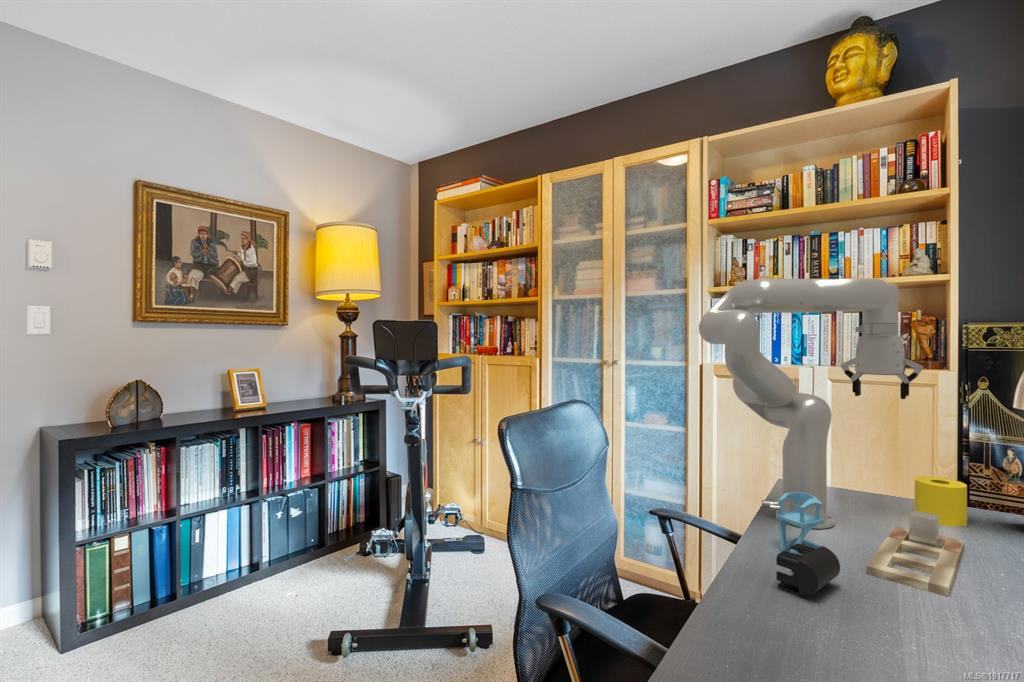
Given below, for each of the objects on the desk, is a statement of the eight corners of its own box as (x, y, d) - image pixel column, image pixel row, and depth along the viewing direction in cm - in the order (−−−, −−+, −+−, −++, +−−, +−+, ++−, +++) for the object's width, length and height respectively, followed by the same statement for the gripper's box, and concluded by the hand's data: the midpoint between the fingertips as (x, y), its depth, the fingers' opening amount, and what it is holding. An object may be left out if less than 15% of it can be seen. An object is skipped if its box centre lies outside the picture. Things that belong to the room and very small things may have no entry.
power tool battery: (817, 605, 86) (817, 565, 86) (775, 589, 91) (775, 552, 91) (840, 587, 92) (840, 550, 92) (799, 573, 97) (799, 538, 97)
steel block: (909, 547, 109) (909, 515, 109) (912, 541, 112) (912, 510, 112) (936, 553, 106) (936, 520, 106) (938, 547, 109) (938, 515, 109)
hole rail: (866, 573, 97) (866, 565, 97) (895, 532, 117) (895, 525, 117) (948, 596, 88) (948, 587, 88) (963, 547, 109) (963, 540, 109)
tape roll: (962, 517, 128) (962, 480, 128) (971, 529, 119) (971, 490, 119) (912, 509, 133) (912, 474, 133) (917, 521, 125) (917, 483, 125)
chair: (770, 546, 110) (770, 491, 110) (796, 540, 113) (796, 487, 113) (802, 560, 103) (802, 502, 103) (829, 553, 106) (829, 496, 106)
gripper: (837, 331, 133) (837, 395, 133) (920, 330, 121) (920, 401, 121) (844, 331, 138) (844, 393, 138) (925, 330, 126) (925, 398, 126)
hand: (880, 397), depth 130 cm, fingers open, 9 cm apart
